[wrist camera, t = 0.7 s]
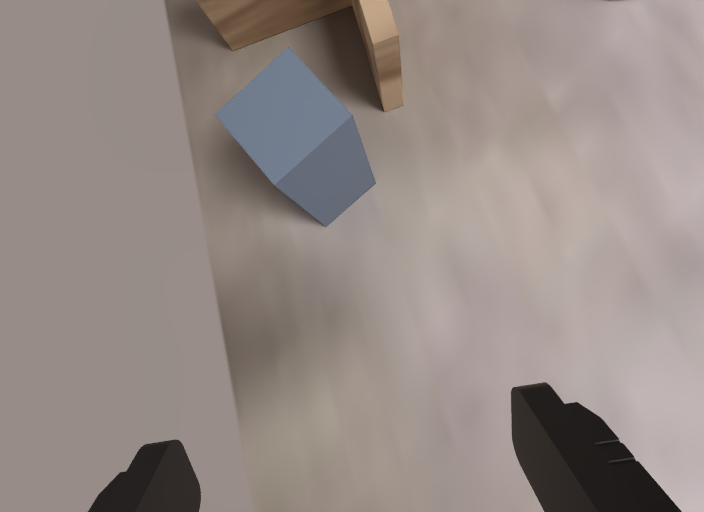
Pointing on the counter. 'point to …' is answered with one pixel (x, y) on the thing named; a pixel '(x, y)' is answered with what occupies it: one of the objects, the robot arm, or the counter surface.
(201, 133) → the counter surface
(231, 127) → the slate block
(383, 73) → the oak corner bracket
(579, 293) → the counter surface
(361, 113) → the counter surface
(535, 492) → the robot arm
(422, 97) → the counter surface
